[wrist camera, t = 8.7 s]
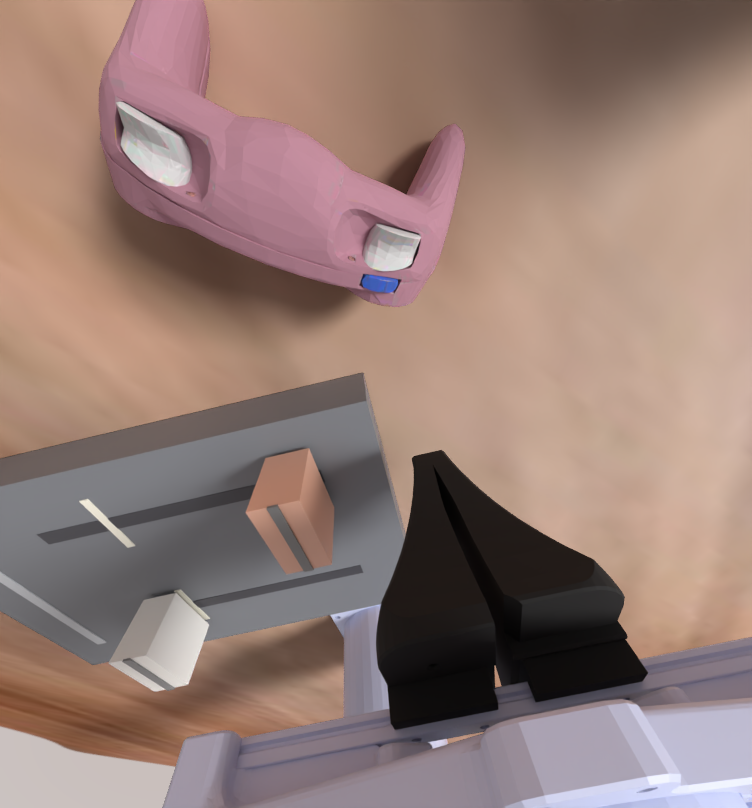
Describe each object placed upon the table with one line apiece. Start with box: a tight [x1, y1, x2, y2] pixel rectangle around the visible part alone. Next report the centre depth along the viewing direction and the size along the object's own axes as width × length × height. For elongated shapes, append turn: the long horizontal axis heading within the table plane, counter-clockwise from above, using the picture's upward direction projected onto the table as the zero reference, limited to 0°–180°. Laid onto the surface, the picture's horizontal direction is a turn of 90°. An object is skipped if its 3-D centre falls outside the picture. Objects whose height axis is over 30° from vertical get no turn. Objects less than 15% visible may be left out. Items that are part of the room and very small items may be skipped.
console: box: [0, 373, 406, 665], centre depth 18 cm, size 16×24×3 cm, turn 102°
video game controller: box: [99, 0, 465, 307], centre depth 9 cm, size 10×5×7 cm, turn 70°
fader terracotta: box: [246, 448, 334, 574], centre depth 13 cm, size 4×2×3 cm, turn 12°
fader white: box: [108, 593, 209, 692], centre depth 17 cm, size 4×2×3 cm, turn 12°
